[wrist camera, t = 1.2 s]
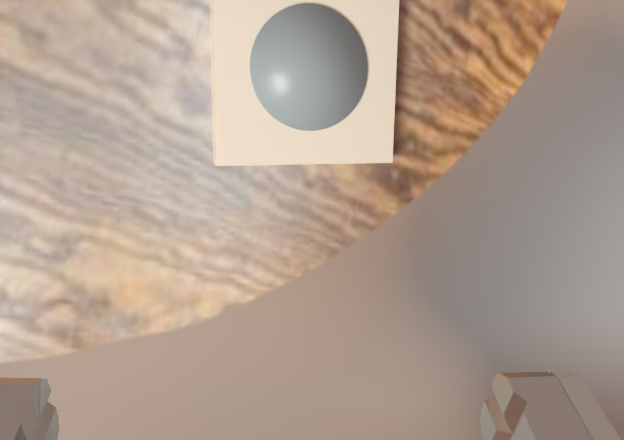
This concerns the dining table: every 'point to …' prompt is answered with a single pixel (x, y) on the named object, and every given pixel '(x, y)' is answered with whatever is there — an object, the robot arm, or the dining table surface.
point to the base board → (303, 81)
